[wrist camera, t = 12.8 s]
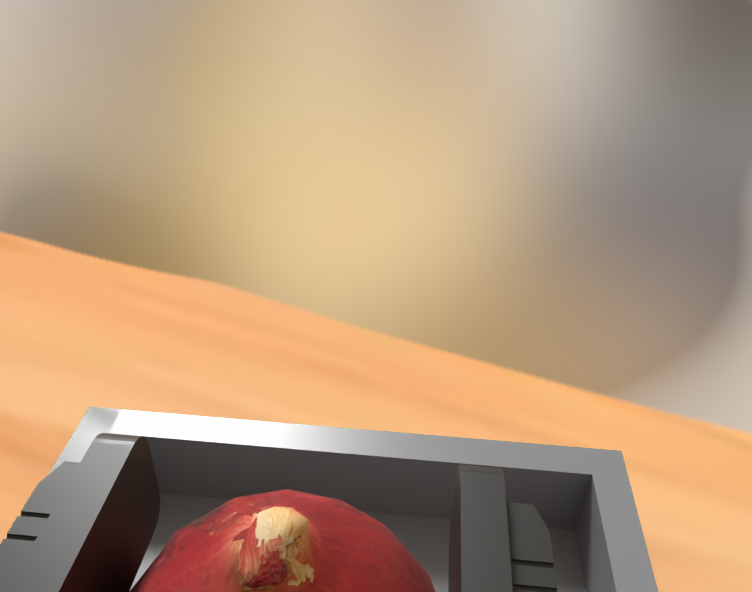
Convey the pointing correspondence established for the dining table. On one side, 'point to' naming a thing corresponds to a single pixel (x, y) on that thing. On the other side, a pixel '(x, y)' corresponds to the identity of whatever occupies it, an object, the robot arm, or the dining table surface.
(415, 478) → the tray
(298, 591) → the onion
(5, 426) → the dining table surface
